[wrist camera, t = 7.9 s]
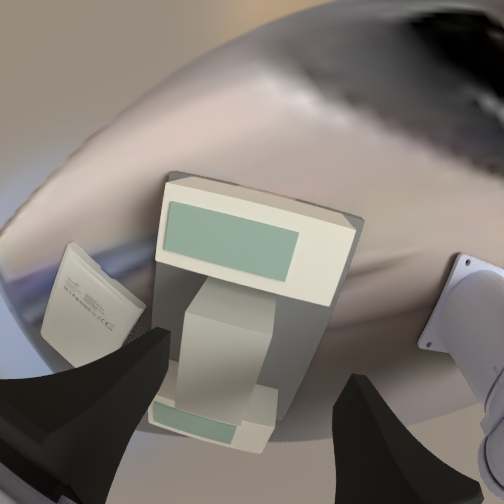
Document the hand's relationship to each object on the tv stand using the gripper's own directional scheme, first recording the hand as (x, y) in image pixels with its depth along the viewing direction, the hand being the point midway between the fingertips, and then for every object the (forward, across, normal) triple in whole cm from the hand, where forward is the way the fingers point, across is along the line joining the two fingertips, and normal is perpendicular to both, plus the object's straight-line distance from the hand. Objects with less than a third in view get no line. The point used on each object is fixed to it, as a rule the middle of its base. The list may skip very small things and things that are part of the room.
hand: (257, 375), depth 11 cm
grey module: (+8, +2, +3) cm, 9 cm away
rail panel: (+9, +2, +4) cm, 10 cm away
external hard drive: (+10, +15, +9) cm, 20 cm away
